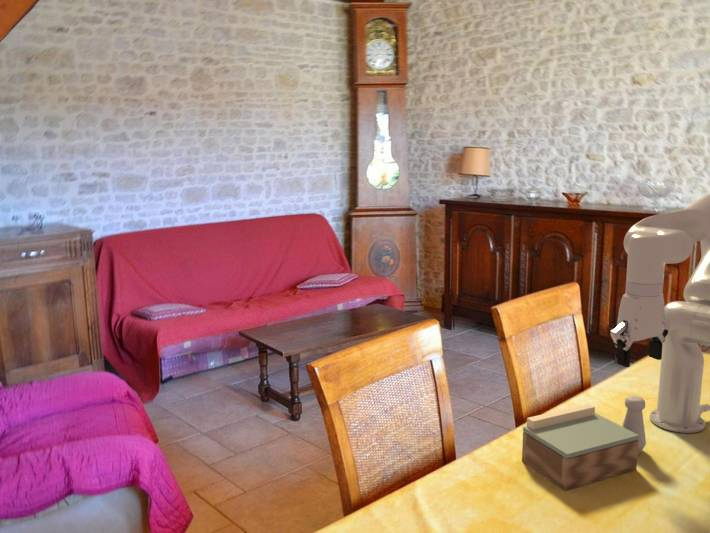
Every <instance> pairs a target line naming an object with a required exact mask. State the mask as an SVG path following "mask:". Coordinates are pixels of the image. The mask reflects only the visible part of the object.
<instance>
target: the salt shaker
mask: <svg viewBox="0 0 710 533" xmlns="http://www.w3.org/2000/svg"><path fill="white" fill-rule="evenodd" d="M624 406H625V408H627V410H626V413H625V416H624V419H623V422H622V425H621V426H622V427H624V428H626V429H628V430H630V431H632V432H634V433H636V434H638V435H639V439H638V440H639V443H638V455H639V454H640V453H642V452H643V450H644V448H645V447H646V444H647V441H646V431H645V424H644V415H643V414H644V413H643V411H644V409H645V408H646V401H645V399H644V398H643V397H641V396H636V395H628V396H626V398H625V399H624Z"/></svg>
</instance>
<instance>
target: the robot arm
mask: <svg viewBox="0 0 710 533" xmlns="http://www.w3.org/2000/svg"><path fill="white" fill-rule="evenodd" d="M696 242H700V243H699V244H700V254H701V255H700V256H701V257H700V261H699V262H698V263H697V266H696V267H695V269H694V271H693V273H692V274H691V276H689V277H690V278H689V279H688V281H687V282H686V284H685V287H684V288H683V289H684V290H683V292H682V293H683V294H682V295H683V299H684V300H683V301H681V300H673V301H671V302H668V303H666V304H665V299H664V294H663V290H664V282H665V281H664V280H665V265H666V264H667V265H668V264H679V263H682V262H684V261H686V260H687V259H688V258H689V257H690V256H691V255H692V253H693V249H694V243H696ZM623 248H624V251H625V253H626V254H627V261H626V262H627V263H626V277H625V278H626V280H625V293H624V294H623V295H622V297H621V299H620V303H619V304H620V305H619V308H618V316H617V322H616V327H615V328H613V329H611V330H610V334H609V335H610V336H611V339H612V343H613V345H614V346H615V348H617V352H616V363H617V365H620V366H621V367H624V368H629V367H630V366H631V355H632V354H631V353H632V352H631V349H630V348H631V346H632V344H633V343H634V342H638V341H642V340H647V339H649V340H648V341H649V343H648V357H649V358H652V359H653V360H654V359H655V360H657V361H660V370H659V384H658V393H657V405H656V406H657V407H656V409H654V410H652V411H651V412H650V413H649V420H650V422H652V423H653V424H654V425H655V426H657V427H659V428H661V429H664V430H667V431H670V432H675V433H684V434H692V433H693V434H694V433H698V432H701V431H703V430H704V429H705V427H706V422H705V419H703V417H701V415H702V414H704V413H706V412H710V404H709V403H704V404H703V403H702V404H701V395H702V384H703V376H704V366H705V358H704V354H703V351H702V350H701V348H700V345H702V346H707V347H710V193H708V194H706V195H703V196H702V197H699V198H698V199H697V200H695V201H693V203H691V204H689V205H688V206H686V207H684V208H682V209H677V210H673V211H668V212H664V213H659V214H658V213H657V214H655V215H651V216H647V217H645V218H643V219H641V220H640V221H637V222H636V223H634V224H633V225H632V226H631V227H630V228H629V229H628V231H627V232H626V233H625V236H624V239H623ZM625 340H626V342H625Z"/></svg>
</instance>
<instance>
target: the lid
mask: <svg viewBox="0 0 710 533" xmlns="http://www.w3.org/2000/svg"><path fill="white" fill-rule="evenodd" d="M522 432H525V433H527V434H528V435H530V436H531V437H533V438H535V439H536V440H538V441H539V442H541V443H543V444H544V445H546V446H547V447H549V448H551V449H552V450H554V451H555V452H557V453H558V454H560V455H562V456H563V457H565V458H566V459H568V458H572V457H575V456H579V455H583V454H586V453H590V452H594V451H598V450H601V449H605V448H609V447H612V446H616V445H620V444H624V443H627V442H631V441H635V440H638V439H639V435H638V434H636V433H634V432H632V431H630V430H628V429H626V428H624V427H622V425H620V424H618V423H616V422H614V421H612V420H610V419H608V418H606V417H604V416H602V415H601V414H598V413H596V407H595V406H594V405H592V404H590V403H586V404H582V405H581V404H580V405H578V406H573V407H568V408H563V409H561V410H556V411H552V412H547V413H543V414H539V415H534V416H530V417H526V425H525V426H523V427H522Z"/></svg>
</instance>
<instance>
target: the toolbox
mask: <svg viewBox="0 0 710 533" xmlns="http://www.w3.org/2000/svg"><path fill="white" fill-rule="evenodd" d="M638 443H639V440H635V441H631V442H627V443H624V444H620V445H616V446H612V447H609V448H605V449H601V450H598V451H594V452H590V453H586V454H583V455H579V456H575V457H572V458H568V459H566V458H565V457H563V456H562V455H560V454H558V453H557V452H555V451H554V450H552V449H551V448H549V447H547V446H546V445H544V444H543V443H541V442H539V441H538V440H536V439H535V438H533V437H531V436H530V435H528V434H527V433H525V432H524V431H522V445H521V446H522V450H521V452H522V453H521V454H522V455H521V462H523V463H524V464H526V465H527V466H529V467H530V468H532V469H533V470H534V471H536V472H537V473H539V474H540V475H541V476H543V477H545V478H546V479H547V480H549V481H550V482H552V483H554V484H555V485H556V486H557V487H559V488H560V489H561V490H563V491H565V492H566V491H569V490H572V489H576V488H579V487H582V486H586V485H590V484H594V483H596V482H599V481H603V480H606V479H610V478H613V477H614V478H615V477H616V476H620V475H623V474H626V473H630V472H634V471H637V467H638V466H637V465H638V455H639V454H638Z"/></svg>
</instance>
